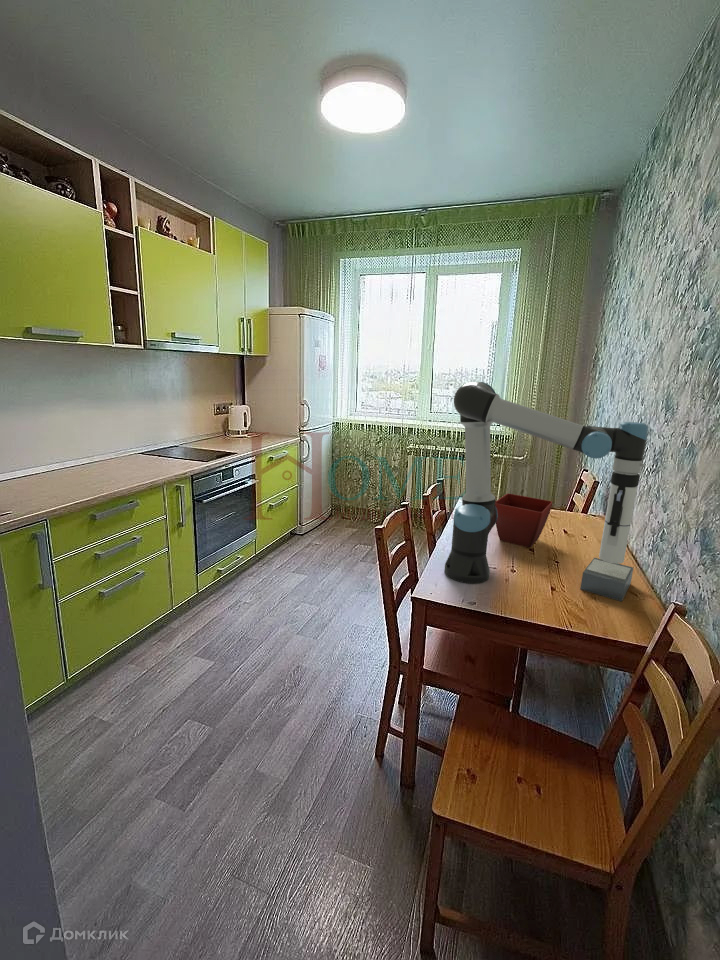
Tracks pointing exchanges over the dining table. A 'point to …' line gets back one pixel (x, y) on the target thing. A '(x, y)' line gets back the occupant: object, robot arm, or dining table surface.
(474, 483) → the robot arm
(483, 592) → the dining table surface
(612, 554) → the cylindrical container
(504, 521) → the plant pot
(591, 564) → the grey rectangular block
